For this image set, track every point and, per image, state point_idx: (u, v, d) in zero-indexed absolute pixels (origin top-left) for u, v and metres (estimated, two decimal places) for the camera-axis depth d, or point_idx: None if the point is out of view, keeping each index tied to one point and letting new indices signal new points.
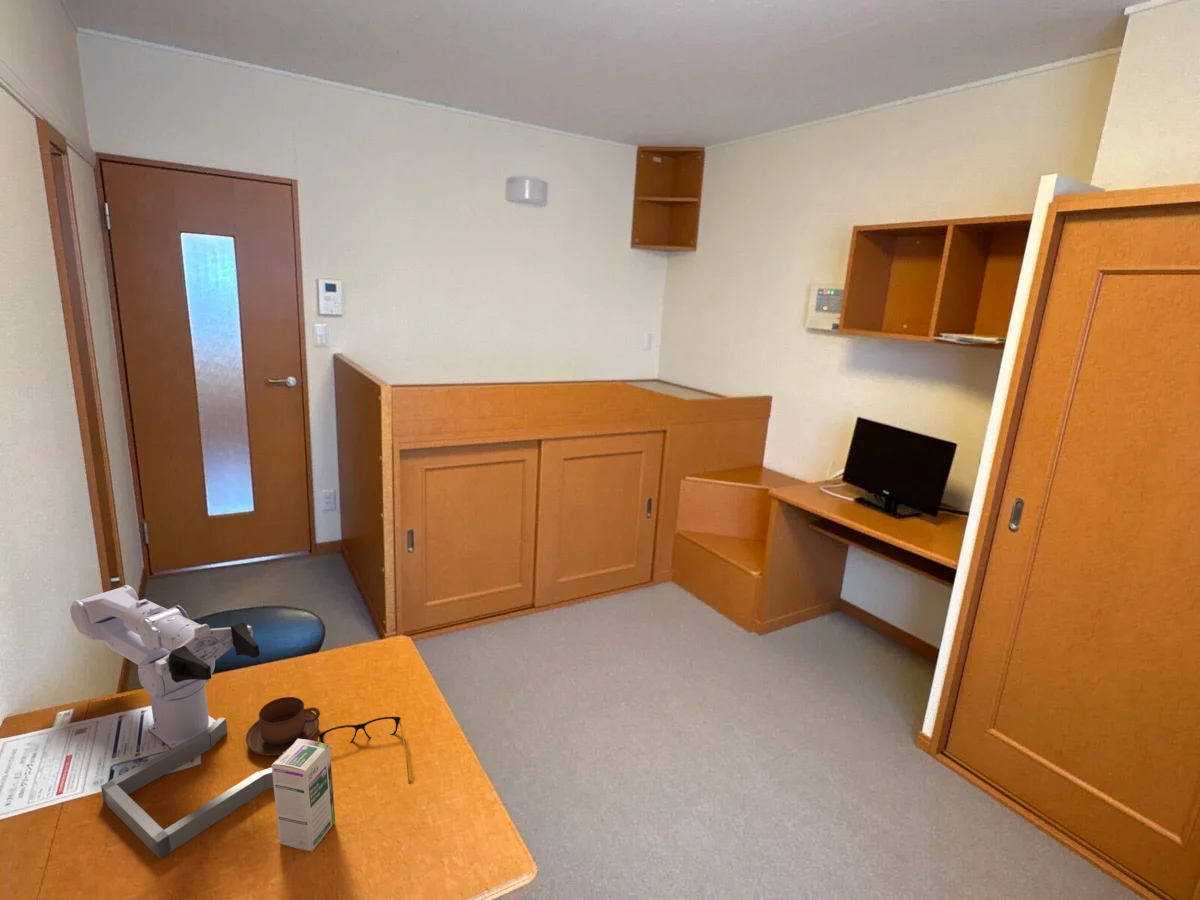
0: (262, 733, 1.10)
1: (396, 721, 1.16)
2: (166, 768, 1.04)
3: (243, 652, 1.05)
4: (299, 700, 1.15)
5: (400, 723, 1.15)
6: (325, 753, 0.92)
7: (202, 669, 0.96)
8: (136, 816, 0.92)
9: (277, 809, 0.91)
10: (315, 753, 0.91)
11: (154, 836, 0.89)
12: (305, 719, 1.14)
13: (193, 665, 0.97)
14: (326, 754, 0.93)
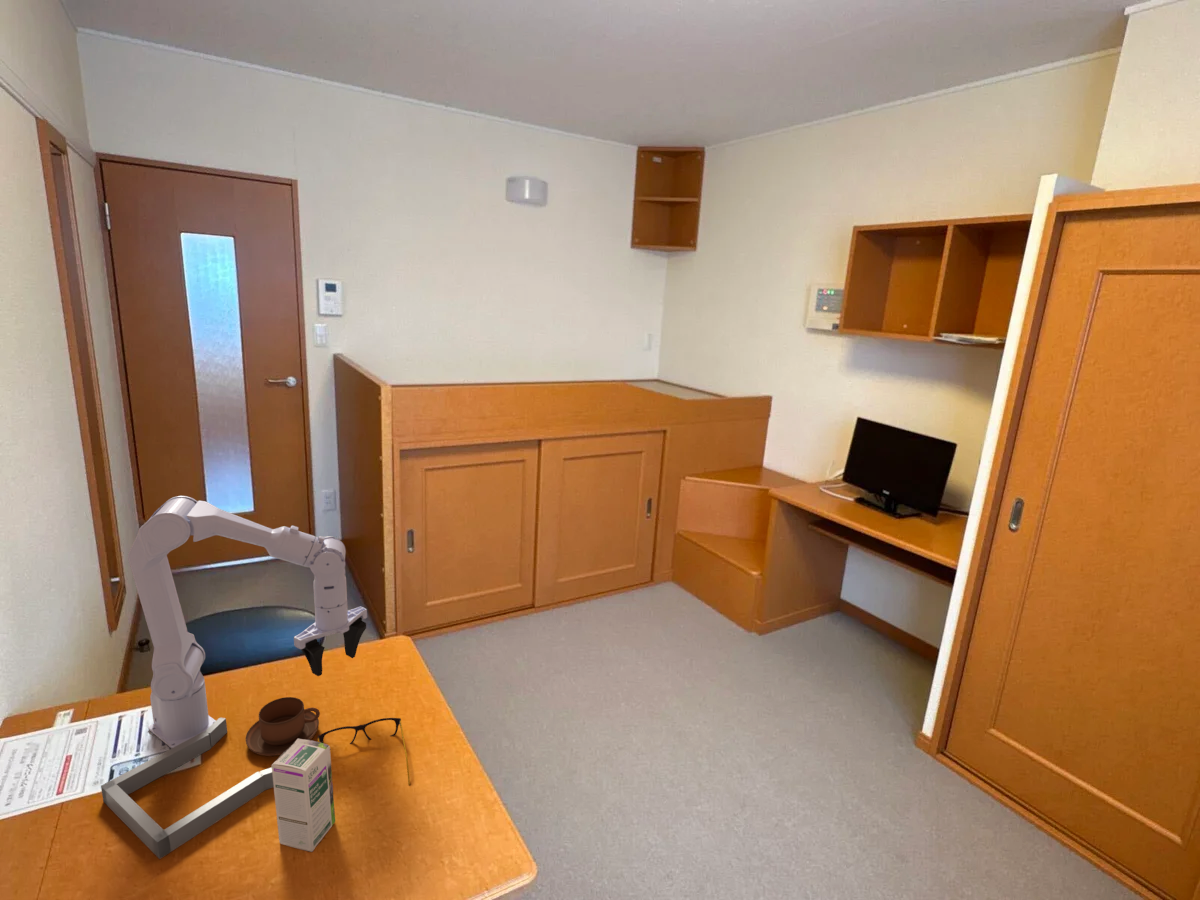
0: (262, 733, 1.10)
1: (396, 722, 1.16)
2: (166, 768, 1.04)
3: (344, 635, 1.23)
4: (299, 700, 1.15)
5: (400, 724, 1.14)
6: (325, 753, 0.92)
7: (316, 672, 1.17)
8: (136, 816, 0.92)
9: (277, 809, 0.91)
10: (315, 753, 0.91)
11: (154, 836, 0.89)
12: (305, 719, 1.14)
13: None
14: (326, 754, 0.93)
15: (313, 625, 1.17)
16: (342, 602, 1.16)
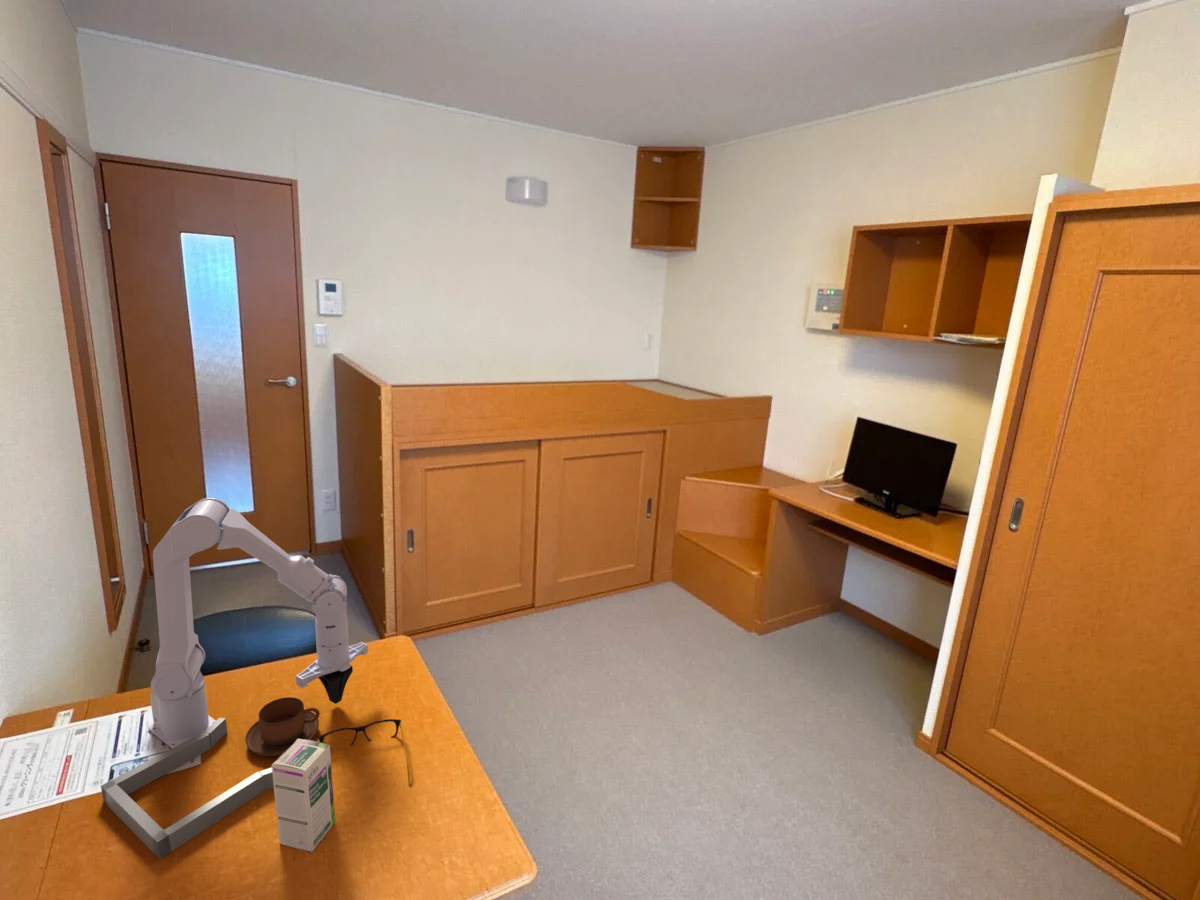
0: (262, 733, 1.10)
1: (396, 724, 1.15)
2: (166, 768, 1.04)
3: None
4: (299, 700, 1.15)
5: (400, 726, 1.14)
6: (325, 753, 0.92)
7: (334, 700, 1.21)
8: (136, 816, 0.92)
9: (277, 809, 0.91)
10: (315, 753, 0.91)
11: (154, 836, 0.89)
12: (305, 719, 1.14)
13: None
14: (326, 754, 0.93)
15: (315, 662, 1.19)
16: (343, 640, 1.18)
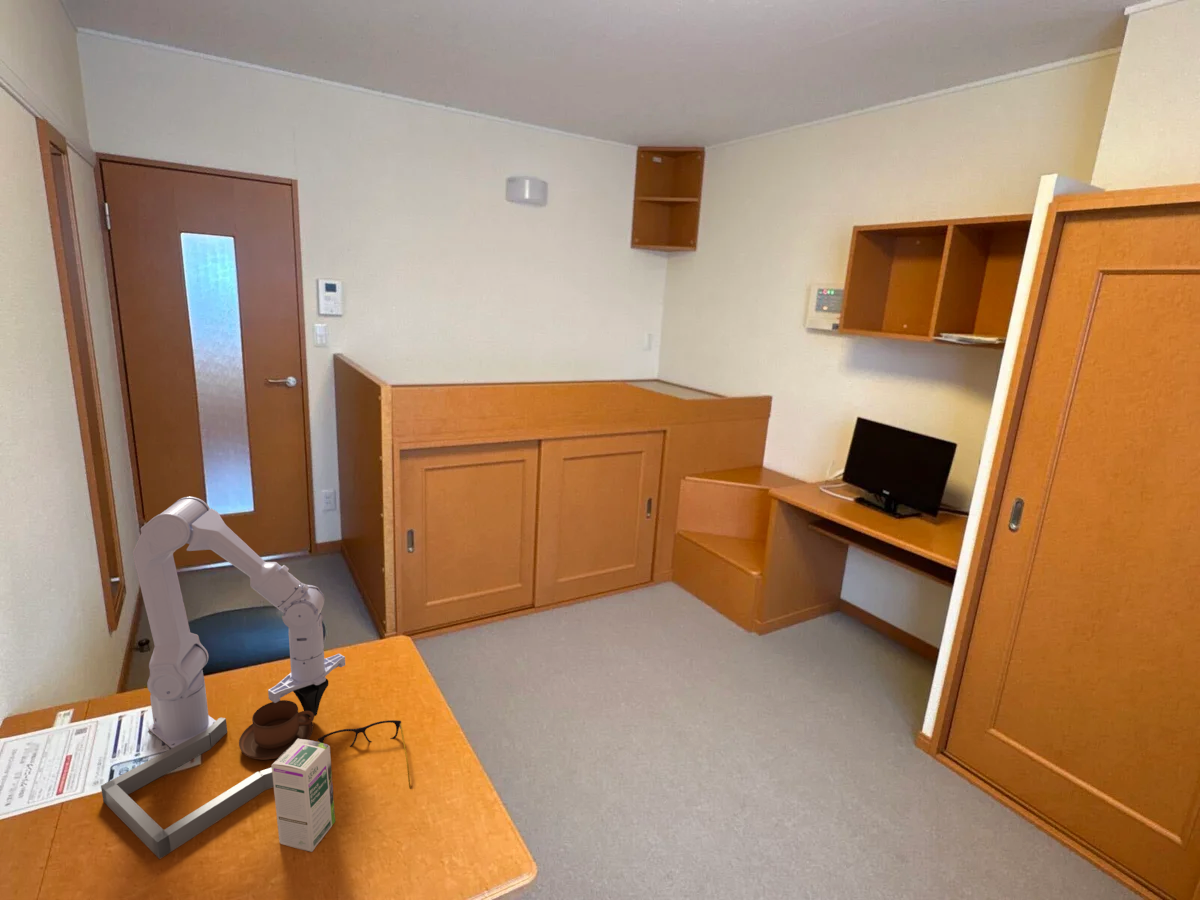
0: (256, 737, 1.09)
1: (397, 725, 1.15)
2: (166, 768, 1.04)
3: None
4: (293, 703, 1.14)
5: (401, 727, 1.14)
6: (325, 753, 0.92)
7: None
8: (136, 816, 0.92)
9: (277, 809, 0.91)
10: (315, 753, 0.91)
11: (154, 836, 0.89)
12: (299, 722, 1.13)
13: None
14: (326, 754, 0.93)
15: (289, 676, 1.15)
16: (316, 654, 1.13)
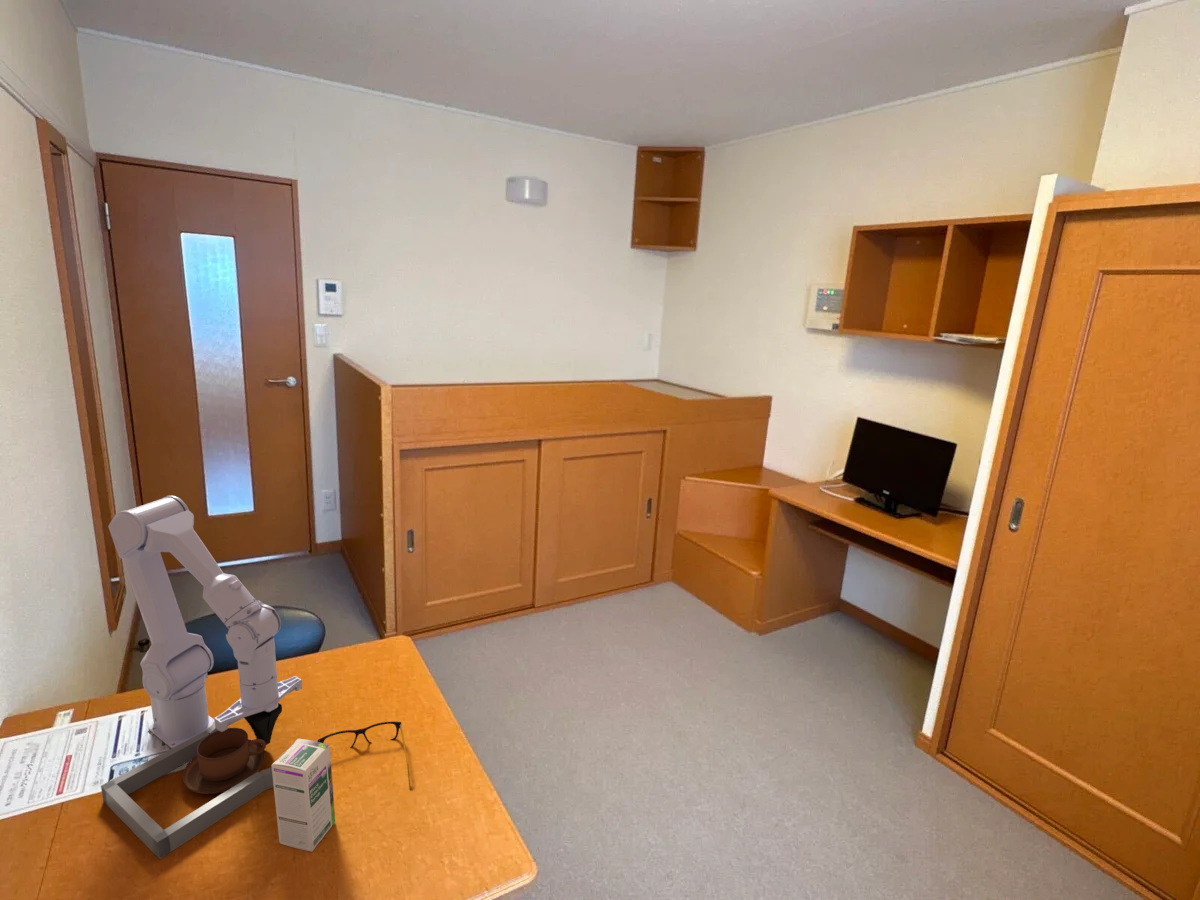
0: (200, 769, 1.01)
1: (397, 726, 1.15)
2: (166, 768, 1.04)
3: None
4: (243, 731, 1.06)
5: (401, 728, 1.13)
6: (325, 753, 0.92)
7: None
8: (136, 816, 0.92)
9: (277, 809, 0.91)
10: (315, 753, 0.91)
11: (154, 836, 0.89)
12: (249, 752, 1.06)
13: None
14: (326, 754, 0.93)
15: (239, 702, 1.07)
16: (260, 681, 1.05)
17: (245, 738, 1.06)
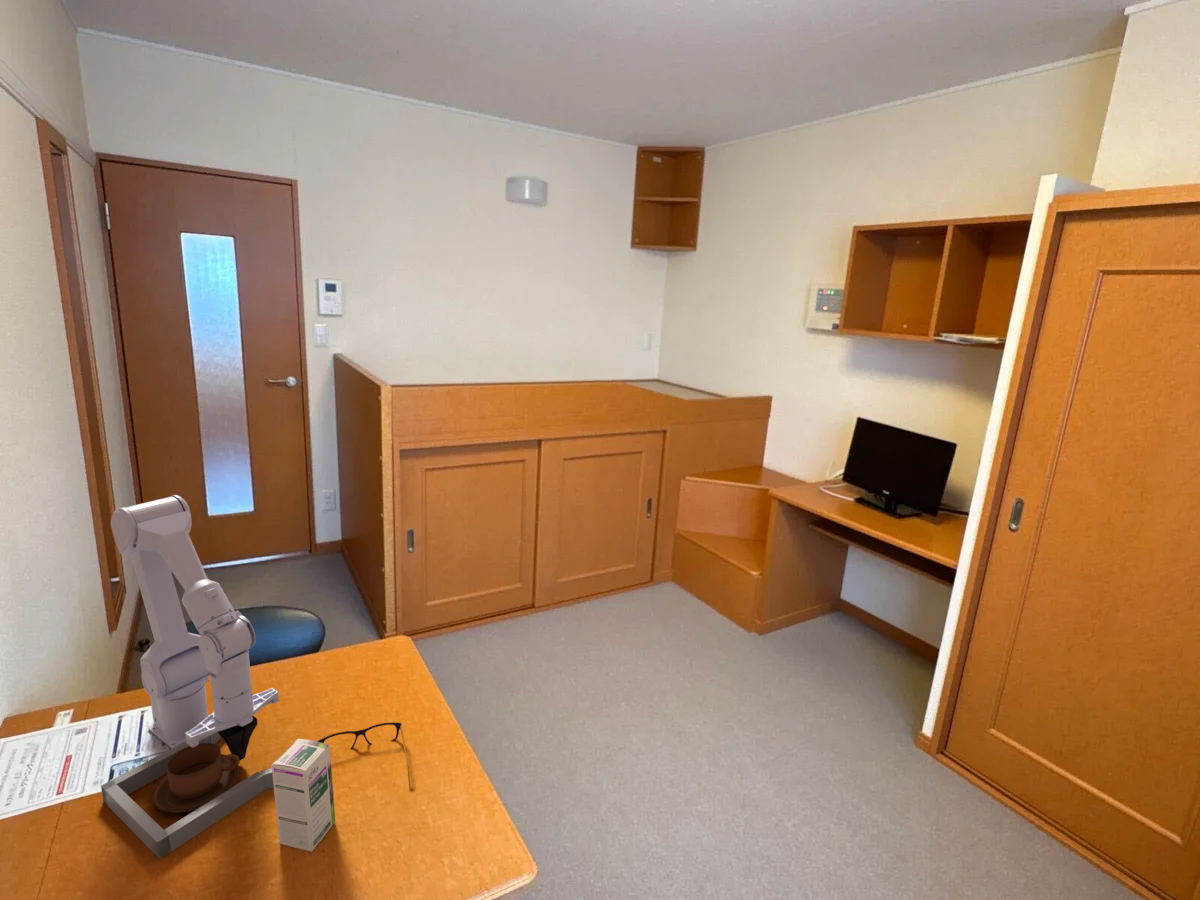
0: (170, 787, 0.97)
1: (397, 727, 1.14)
2: (166, 768, 1.04)
3: None
4: (216, 746, 1.03)
5: (401, 729, 1.13)
6: (325, 753, 0.92)
7: None
8: (136, 816, 0.92)
9: (277, 809, 0.91)
10: (315, 753, 0.91)
11: (154, 836, 0.89)
12: (222, 768, 1.02)
13: None
14: (326, 754, 0.93)
15: (212, 715, 1.03)
16: (228, 696, 1.01)
17: (218, 753, 1.03)
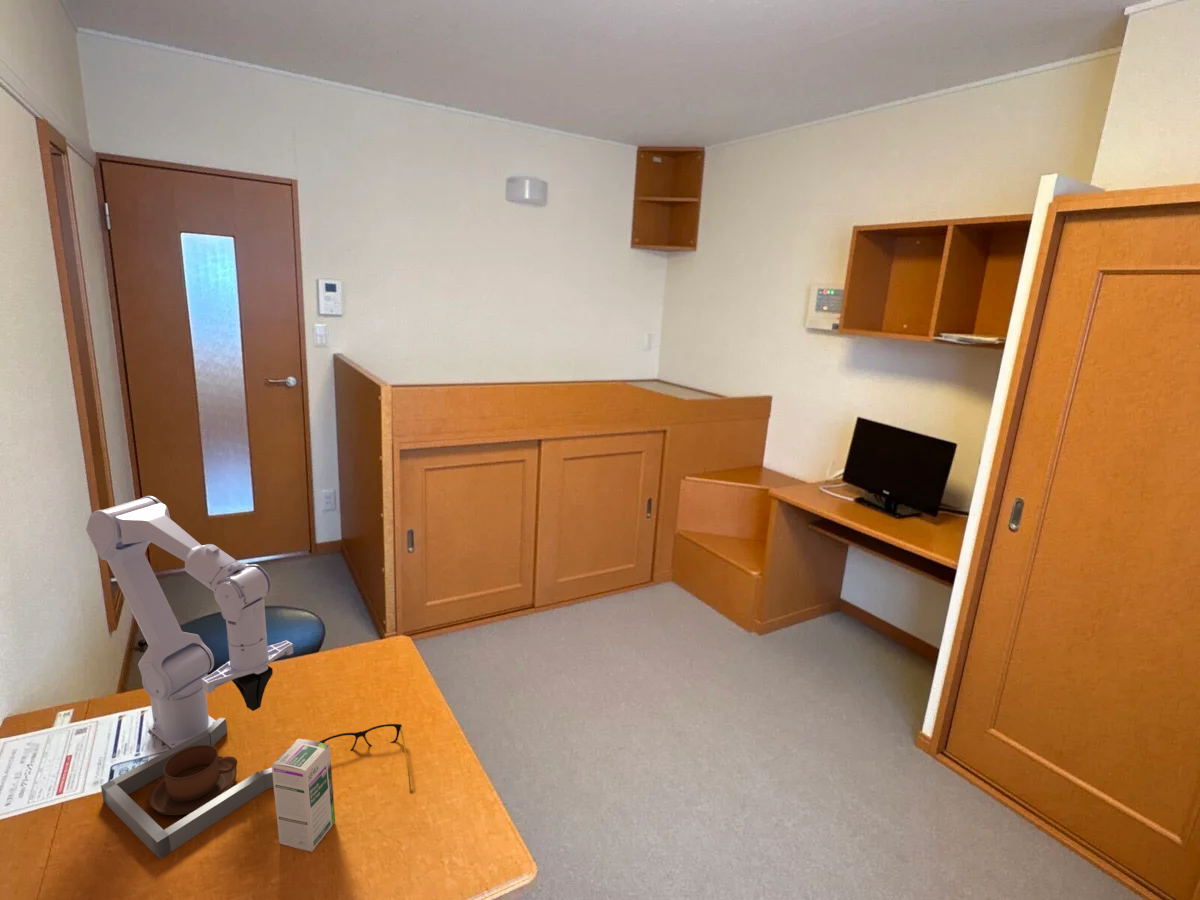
0: (167, 789, 0.97)
1: (397, 728, 1.14)
2: None
3: None
4: (213, 748, 1.02)
5: (401, 730, 1.13)
6: (325, 753, 0.92)
7: (251, 706, 1.06)
8: (136, 816, 0.92)
9: (277, 809, 0.91)
10: (315, 753, 0.91)
11: (154, 836, 0.89)
12: (220, 770, 1.02)
13: None
14: (326, 754, 0.93)
15: (227, 664, 1.04)
16: (248, 642, 1.02)
17: (215, 755, 1.02)
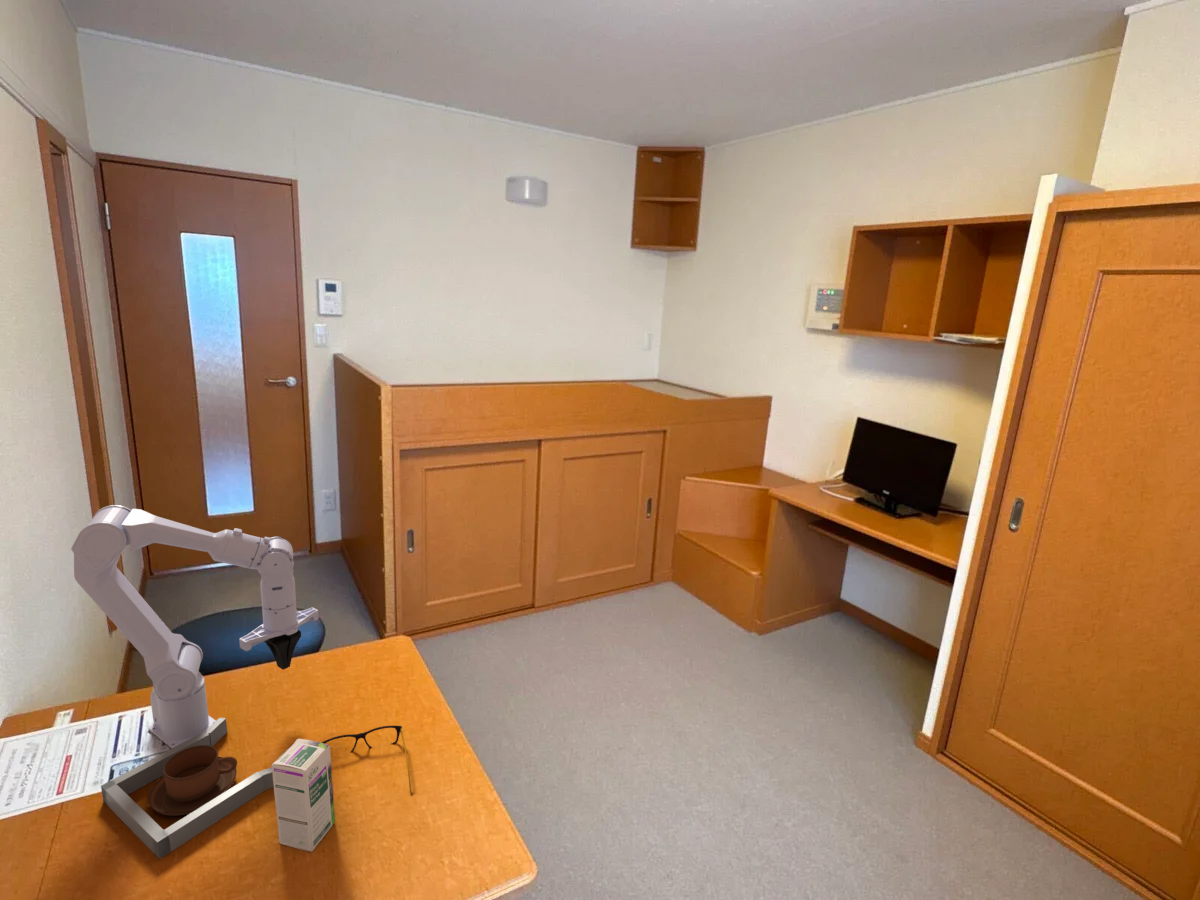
0: (167, 789, 0.97)
1: (397, 730, 1.14)
2: None
3: None
4: (213, 749, 1.02)
5: (401, 732, 1.12)
6: (325, 753, 0.92)
7: (281, 665, 1.18)
8: (136, 816, 0.92)
9: (277, 809, 0.91)
10: (315, 753, 0.91)
11: (154, 836, 0.89)
12: (220, 770, 1.01)
13: None
14: (326, 754, 0.93)
15: (261, 626, 1.16)
16: (291, 602, 1.15)
17: (215, 756, 1.02)
